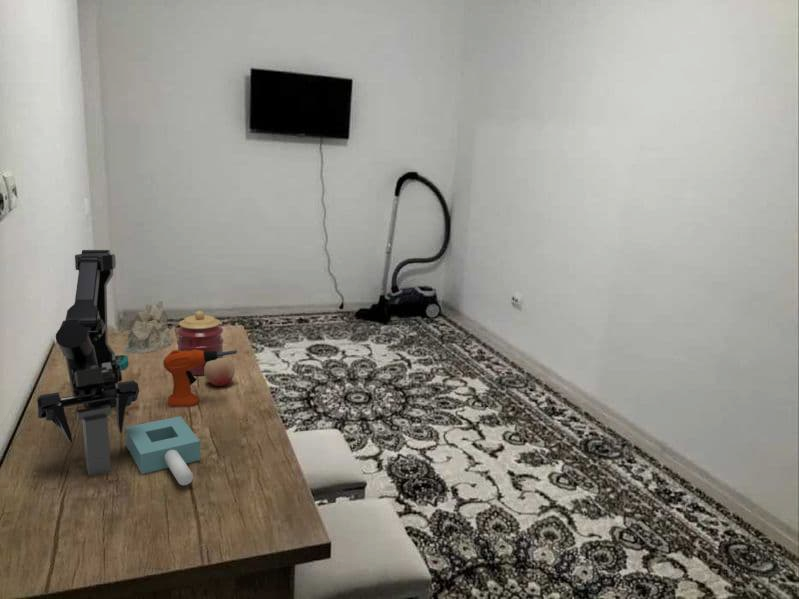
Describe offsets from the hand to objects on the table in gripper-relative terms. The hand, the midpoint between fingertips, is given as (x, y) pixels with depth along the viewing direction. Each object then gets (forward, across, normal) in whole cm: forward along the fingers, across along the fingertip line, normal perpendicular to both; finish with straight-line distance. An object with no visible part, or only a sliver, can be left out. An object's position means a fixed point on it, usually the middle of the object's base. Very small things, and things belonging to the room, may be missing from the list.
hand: (96, 437), depth 127 cm
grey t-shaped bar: (+5, 0, +6) cm, 8 cm away
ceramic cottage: (-49, +27, +60) cm, 82 cm away
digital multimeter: (-38, +11, +50) cm, 64 cm away
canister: (-29, +36, +39) cm, 61 cm away
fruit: (-18, +37, +29) cm, 50 cm away
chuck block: (+8, +13, +3) cm, 16 cm away
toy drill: (-12, +29, +23) cm, 38 cm away
